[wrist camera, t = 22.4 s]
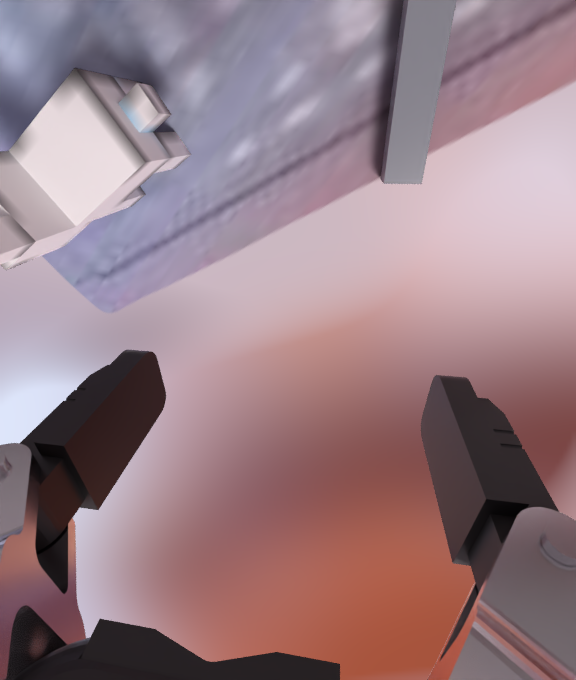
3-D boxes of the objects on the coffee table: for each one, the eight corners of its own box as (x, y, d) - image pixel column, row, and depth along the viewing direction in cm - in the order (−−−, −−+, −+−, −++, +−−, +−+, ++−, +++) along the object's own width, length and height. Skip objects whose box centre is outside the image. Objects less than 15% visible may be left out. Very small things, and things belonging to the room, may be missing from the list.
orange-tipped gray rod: (370, 178, 35) (374, 185, 31) (416, -217, 22) (432, -296, 18) (425, 179, 35) (436, 186, 30) (503, -228, 22) (541, -313, 18)
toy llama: (208, 139, 35) (85, 150, 19) (106, 228, 42) (-50, 293, 26) (158, 64, 33) (-38, -2, 16) (58, 172, 40) (-152, 205, 23)
